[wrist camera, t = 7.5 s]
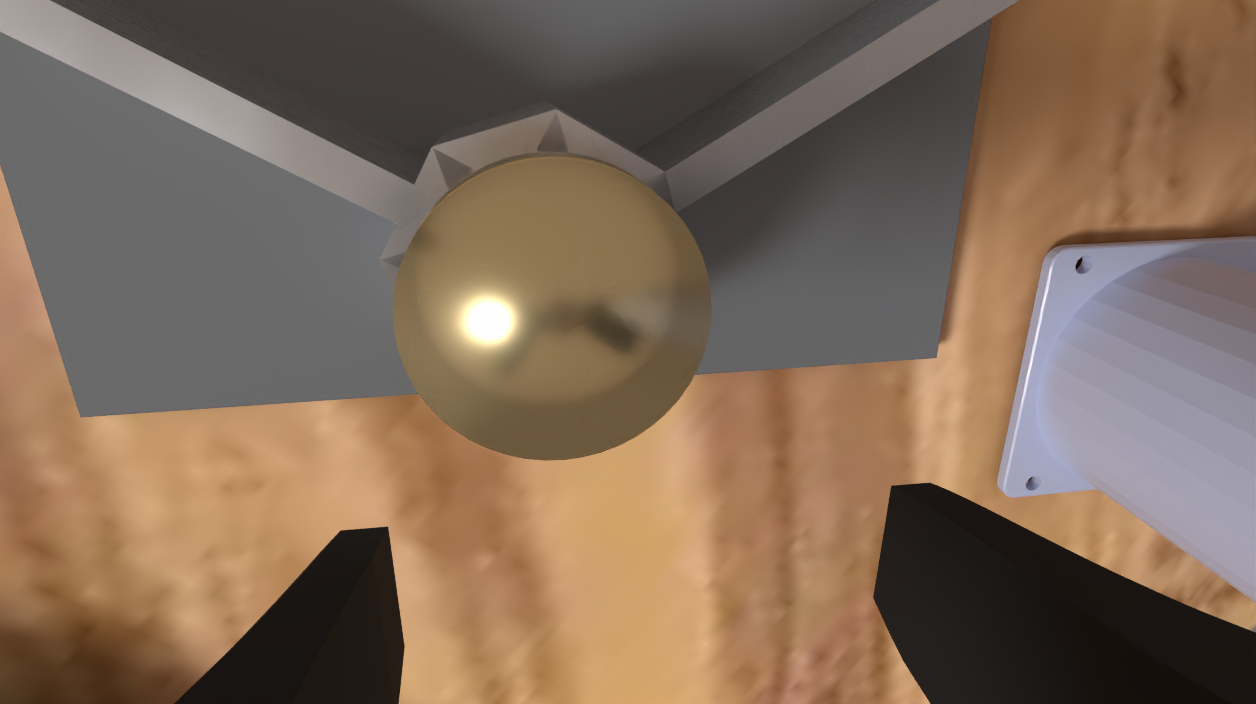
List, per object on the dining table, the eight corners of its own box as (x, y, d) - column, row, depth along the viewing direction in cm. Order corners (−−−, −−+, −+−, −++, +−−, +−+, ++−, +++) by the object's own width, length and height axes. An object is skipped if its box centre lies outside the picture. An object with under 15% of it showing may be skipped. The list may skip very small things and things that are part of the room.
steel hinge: (978, -35, 17) (1094, -59, 13) (689, 425, 20) (725, 496, 17) (166, -689, 11) (26, -1002, 8) (-49, 89, 15) (-212, 96, 11)
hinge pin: (626, 116, 17) (717, 154, 10) (627, 298, 18) (705, 447, 11) (430, 119, 16) (371, 162, 9) (449, 307, 18) (412, 472, 11)
